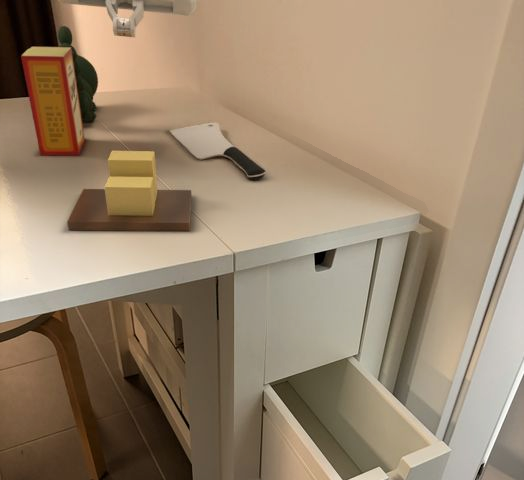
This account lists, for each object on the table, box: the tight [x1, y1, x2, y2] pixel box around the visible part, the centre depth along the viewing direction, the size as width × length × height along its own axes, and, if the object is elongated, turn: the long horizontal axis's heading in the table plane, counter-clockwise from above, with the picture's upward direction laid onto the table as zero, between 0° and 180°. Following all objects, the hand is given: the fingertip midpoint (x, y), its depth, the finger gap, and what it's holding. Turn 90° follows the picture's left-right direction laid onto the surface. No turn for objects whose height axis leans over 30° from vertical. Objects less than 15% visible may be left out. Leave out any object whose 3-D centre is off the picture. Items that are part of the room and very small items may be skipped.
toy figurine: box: [57, 25, 99, 123], centre depth 114 cm, size 9×19×25 cm
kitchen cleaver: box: [169, 122, 266, 181], centre depth 102 cm, size 31×2×10 cm
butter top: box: [104, 175, 155, 216], centre depth 76 cm, size 6×4×4 cm
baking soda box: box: [20, 46, 86, 156], centre depth 97 cm, size 10×6×16 cm
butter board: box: [66, 188, 192, 232], centre depth 79 cm, size 16×12×1 cm
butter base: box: [107, 150, 158, 201], centre depth 79 cm, size 6×4×6 cm, turn 94°
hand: (124, 34), depth 78 cm, fingers closed
